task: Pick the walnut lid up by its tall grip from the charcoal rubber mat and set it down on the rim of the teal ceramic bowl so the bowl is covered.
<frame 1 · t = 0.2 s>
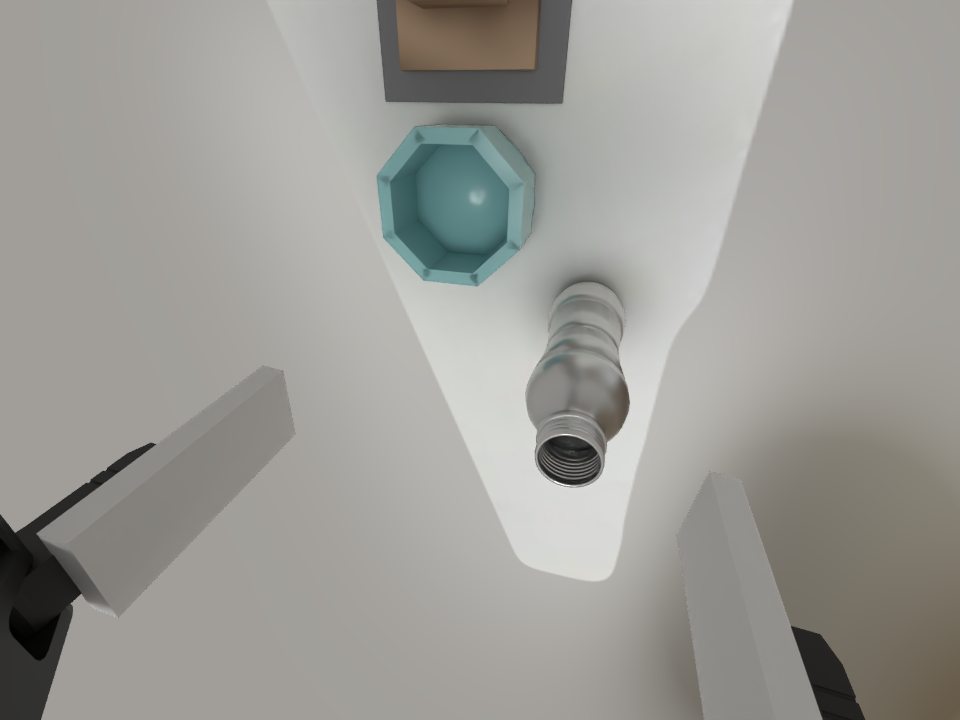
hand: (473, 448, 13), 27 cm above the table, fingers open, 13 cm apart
plastic bottle: (587, 308, 39), on the table
bowl: (470, 198, 36), on the table
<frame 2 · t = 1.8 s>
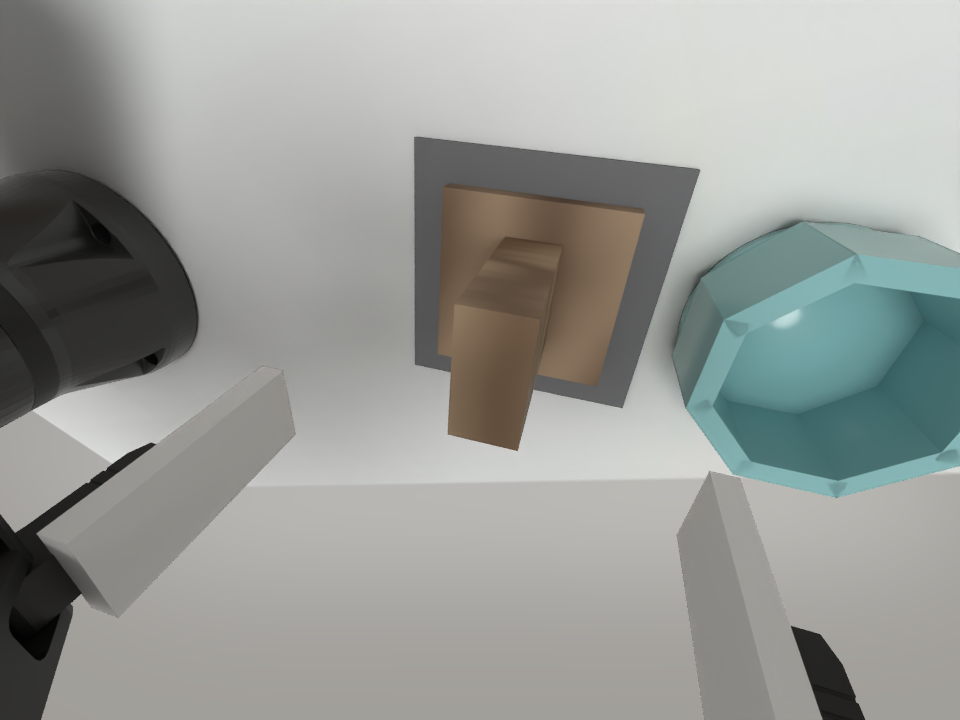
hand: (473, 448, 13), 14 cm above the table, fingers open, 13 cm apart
cover lid: (529, 286, 25), resting on mat
mat: (529, 284, 25), on the table
bowl: (792, 329, 22), on the table
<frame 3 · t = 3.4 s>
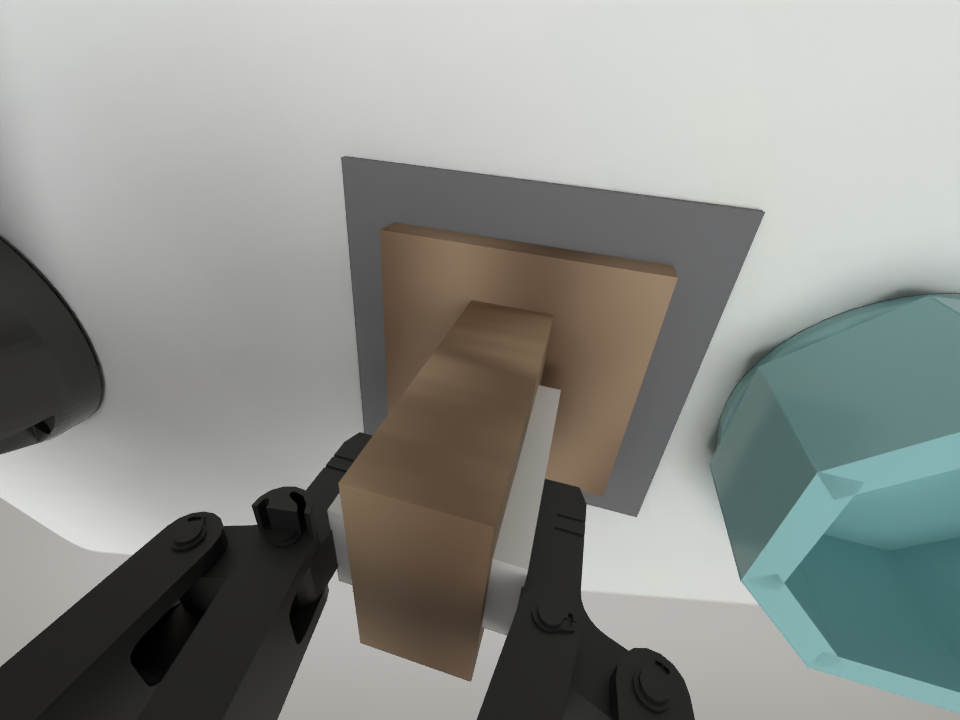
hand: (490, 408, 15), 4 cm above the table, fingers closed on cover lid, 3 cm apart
cover lid: (509, 361, 18), resting on mat, touching gripper
mat: (510, 358, 18), on the table
bowl: (887, 436, 15), on the table
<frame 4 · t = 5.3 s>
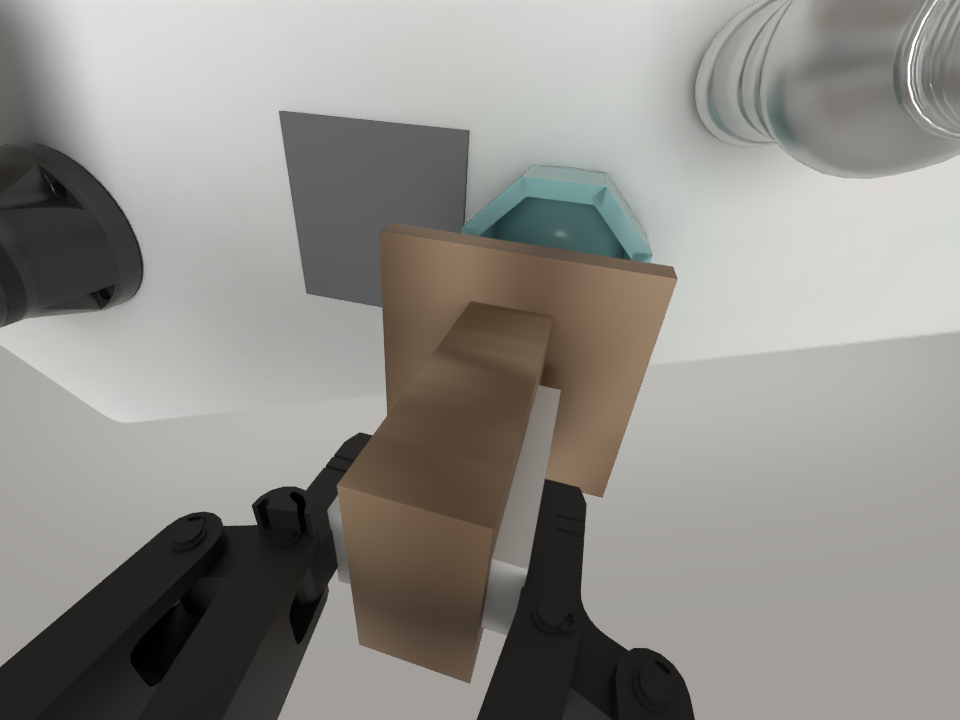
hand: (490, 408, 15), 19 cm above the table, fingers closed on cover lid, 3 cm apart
cover lid: (508, 362, 18), point 16 cm above the table, touching gripper
mat: (377, 223, 33), on the table
plastic bottle: (752, 77, 24), on the table
bowl: (556, 249, 31), on the table
when the fingers open (11 cm above the table, at t = 7.0 s): cover lid drops 1 cm, resting on bowl.
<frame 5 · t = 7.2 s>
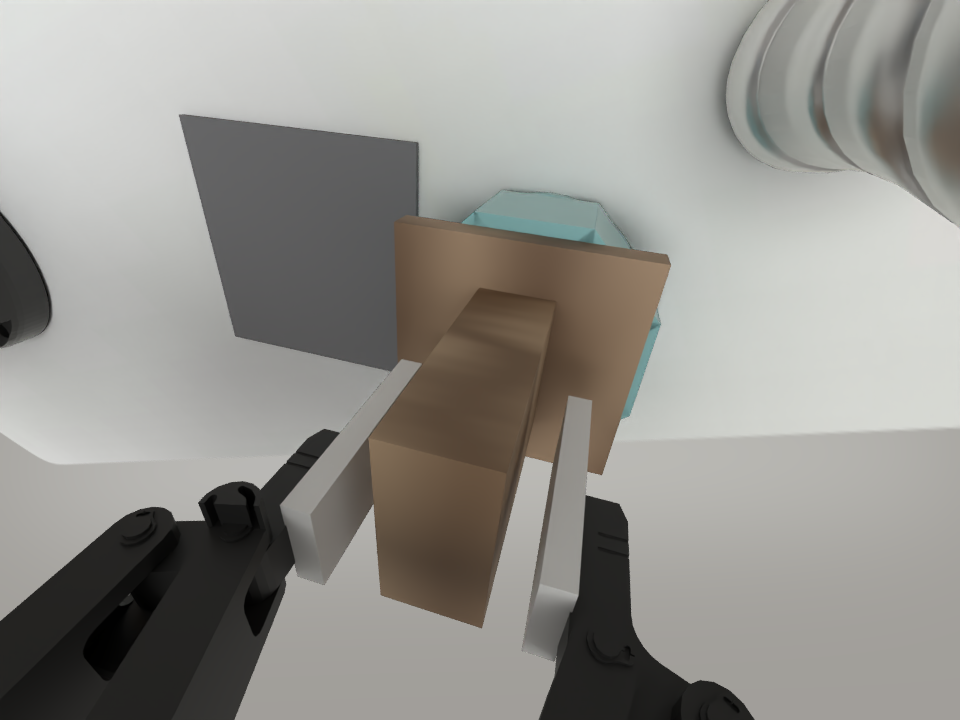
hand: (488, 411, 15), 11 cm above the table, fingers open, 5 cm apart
cover lid: (513, 347, 19), point 6 cm above the table, touching bowl
mat: (311, 256, 26), on the table
plastic bottle: (808, 73, 17), on the table
bowl: (535, 296, 24), on the table
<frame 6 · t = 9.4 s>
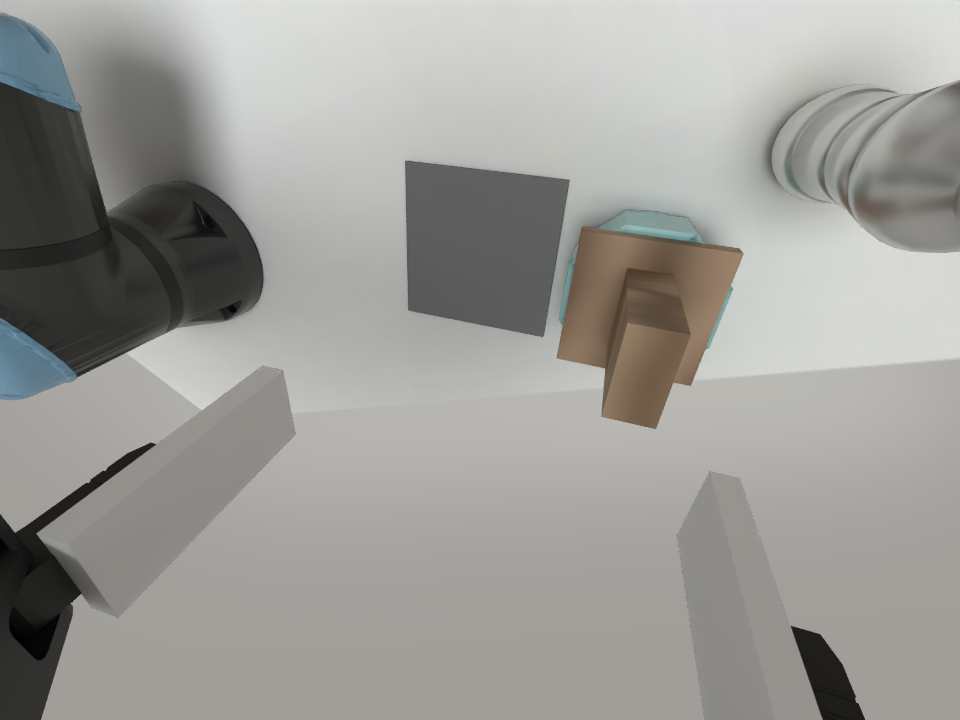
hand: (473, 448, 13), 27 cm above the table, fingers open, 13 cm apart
cover lid: (638, 305, 31), point 6 cm above the table, touching bowl
mat: (478, 253, 39), on the table
plastic bottle: (819, 143, 29), on the table
bowl: (637, 278, 36), on the table
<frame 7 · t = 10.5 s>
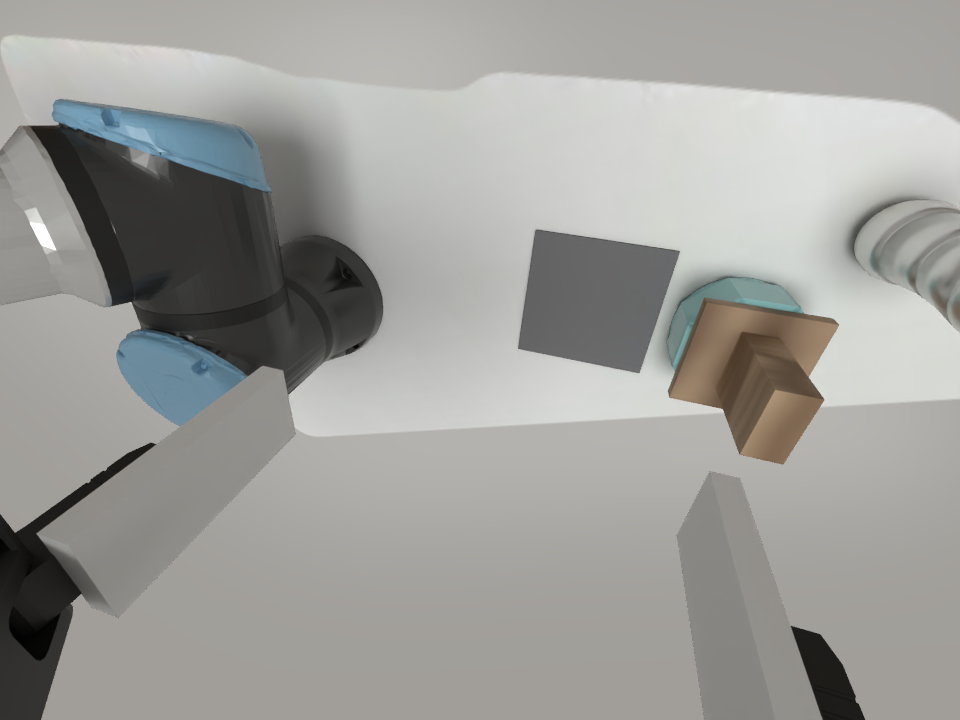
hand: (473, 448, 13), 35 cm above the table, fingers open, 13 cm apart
cover lid: (742, 358, 39), point 6 cm above the table, touching bowl
mat: (590, 304, 46), on the table
plastic bottle: (891, 233, 36), on the table
bowl: (728, 329, 44), on the table
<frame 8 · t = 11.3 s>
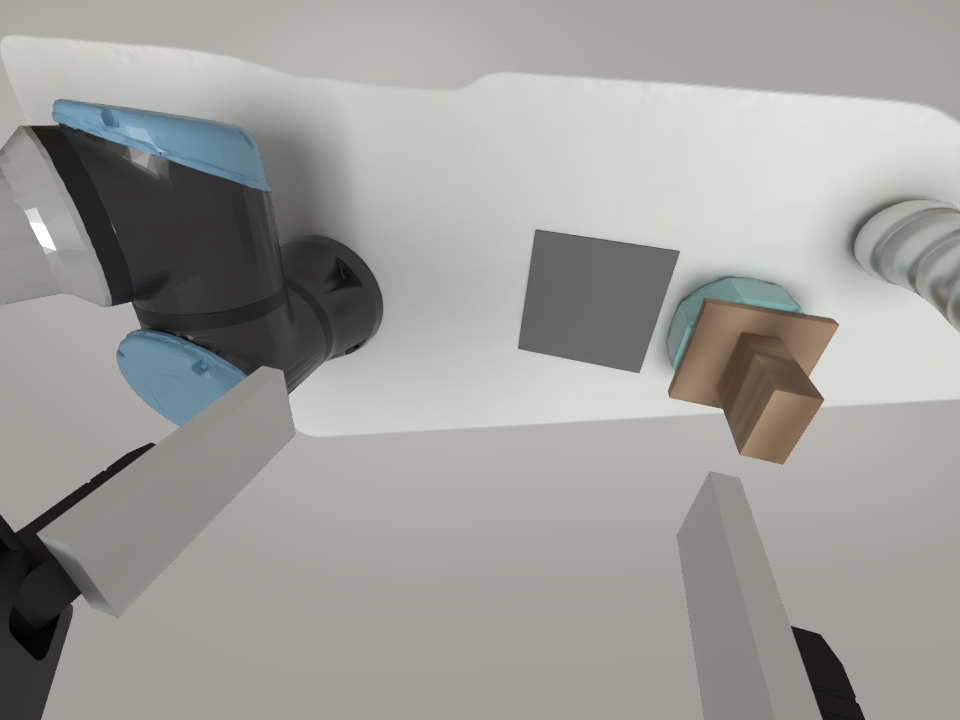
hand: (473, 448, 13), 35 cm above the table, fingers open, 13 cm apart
cover lid: (742, 358, 39), point 6 cm above the table, touching bowl
mat: (590, 304, 46), on the table
plastic bottle: (891, 234, 36), on the table
bowl: (728, 329, 44), on the table
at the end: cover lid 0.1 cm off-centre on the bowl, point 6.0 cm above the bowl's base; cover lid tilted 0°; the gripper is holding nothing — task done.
